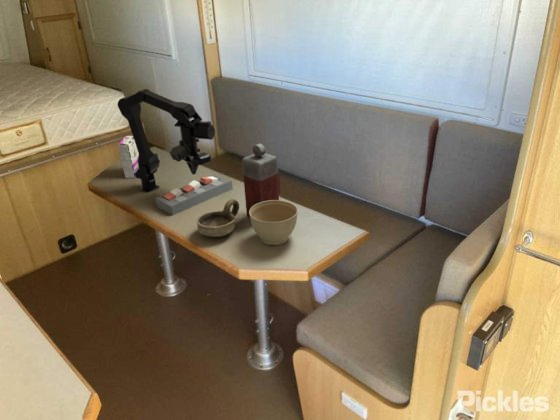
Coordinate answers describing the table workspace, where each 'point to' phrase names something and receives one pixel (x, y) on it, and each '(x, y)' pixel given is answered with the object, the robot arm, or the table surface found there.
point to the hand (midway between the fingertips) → (193, 174)
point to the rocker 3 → (208, 180)
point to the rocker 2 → (191, 186)
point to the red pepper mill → (260, 177)
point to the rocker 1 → (173, 194)
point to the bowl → (219, 220)
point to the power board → (195, 195)
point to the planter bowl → (273, 220)
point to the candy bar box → (129, 156)
